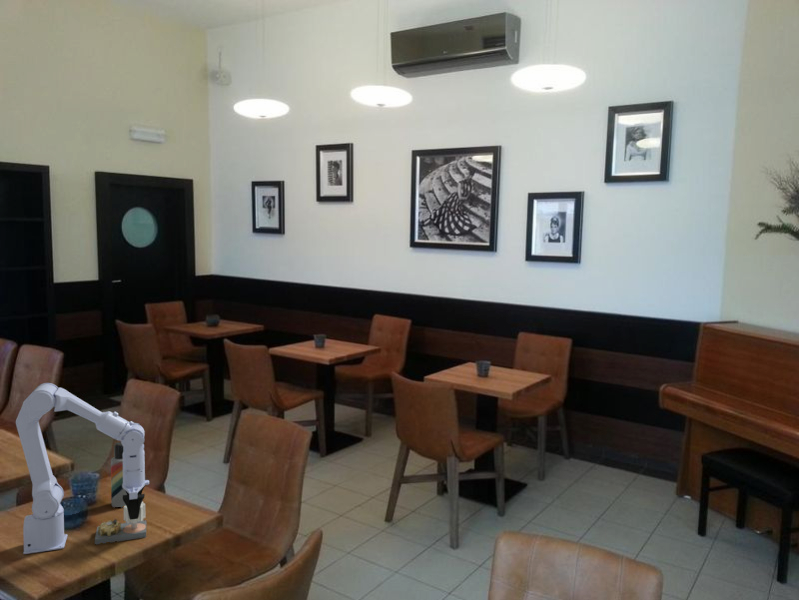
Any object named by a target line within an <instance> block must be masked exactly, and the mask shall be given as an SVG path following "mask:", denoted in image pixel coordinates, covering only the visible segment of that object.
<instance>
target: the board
mask: <svg viewBox="0 0 799 600" xmlns="http://www.w3.org/2000/svg"><path fill="white" fill-rule="evenodd" d="M142 538H147V520H144V519H143V521H138V522H136V523H133V522H132V523H130V522H129V523H126V522H123V523H122V522H121V531H118V533H117V534H112V535H111V536H107V535H103V536H100V534H98V526H97V527H96V532H95V536H94V545H95V544H96V545H101V544H100V543H103V544H107V543H106V542H110V543H116V542H115V541H117V542H123V541H129V540H134V539H135V540H136V539H142Z"/></svg>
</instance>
